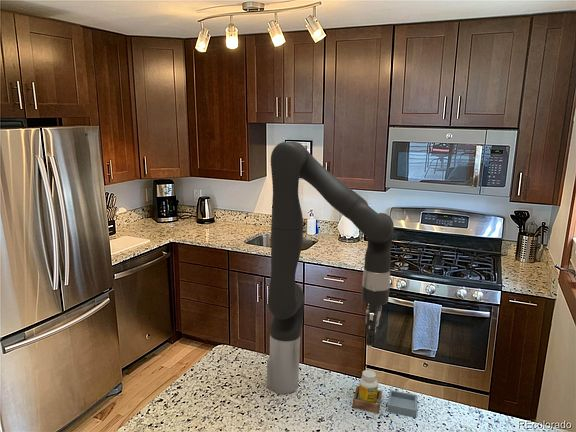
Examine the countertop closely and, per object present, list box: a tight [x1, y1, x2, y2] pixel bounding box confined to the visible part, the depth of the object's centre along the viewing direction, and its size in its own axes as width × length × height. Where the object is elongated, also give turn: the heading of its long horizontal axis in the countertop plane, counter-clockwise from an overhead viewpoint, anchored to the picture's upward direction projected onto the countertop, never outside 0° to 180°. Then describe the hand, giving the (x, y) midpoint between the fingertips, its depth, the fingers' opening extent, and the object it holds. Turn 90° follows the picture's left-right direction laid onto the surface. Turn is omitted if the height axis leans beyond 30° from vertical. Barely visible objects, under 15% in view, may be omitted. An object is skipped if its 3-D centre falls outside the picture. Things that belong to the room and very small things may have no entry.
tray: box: [386, 389, 418, 418], centre depth 128 cm, size 8×8×2 cm
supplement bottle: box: [357, 369, 379, 404], centre depth 129 cm, size 5×5×10 cm
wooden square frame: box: [351, 385, 383, 414], centre depth 129 cm, size 8×8×2 cm
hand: (371, 338), depth 126 cm, fingers open, 8 cm apart
